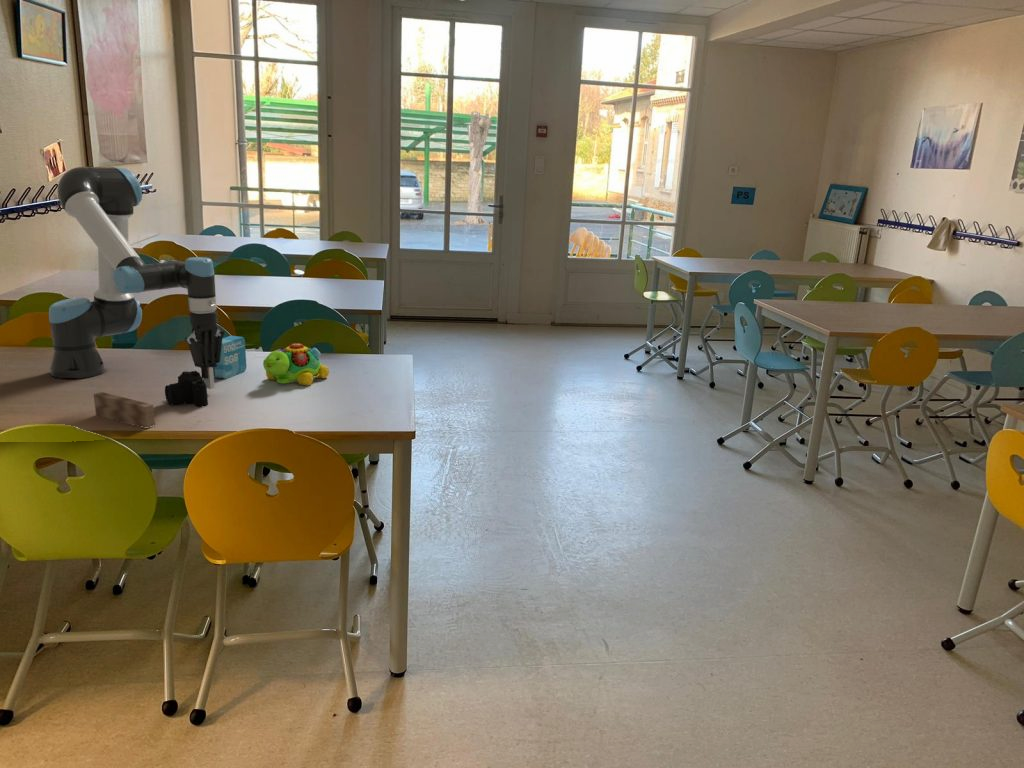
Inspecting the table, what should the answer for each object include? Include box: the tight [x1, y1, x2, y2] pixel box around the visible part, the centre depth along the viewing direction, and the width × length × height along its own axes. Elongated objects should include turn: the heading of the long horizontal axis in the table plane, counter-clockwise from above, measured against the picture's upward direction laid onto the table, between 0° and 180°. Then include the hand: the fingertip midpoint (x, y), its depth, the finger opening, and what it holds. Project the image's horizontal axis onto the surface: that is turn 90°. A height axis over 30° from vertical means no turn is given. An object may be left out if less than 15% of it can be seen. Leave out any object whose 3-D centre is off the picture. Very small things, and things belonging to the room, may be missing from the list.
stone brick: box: [93, 391, 156, 428], centre depth 200 cm, size 20×2×6 cm, turn 64°
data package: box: [214, 335, 247, 380], centre depth 244 cm, size 12×4×12 cm, turn 163°
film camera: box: [164, 370, 209, 408], centre depth 216 cm, size 15×10×9 cm, turn 42°
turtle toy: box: [262, 342, 330, 387], centre depth 240 cm, size 17×23×12 cm
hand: (209, 387), depth 225 cm, fingers closed
